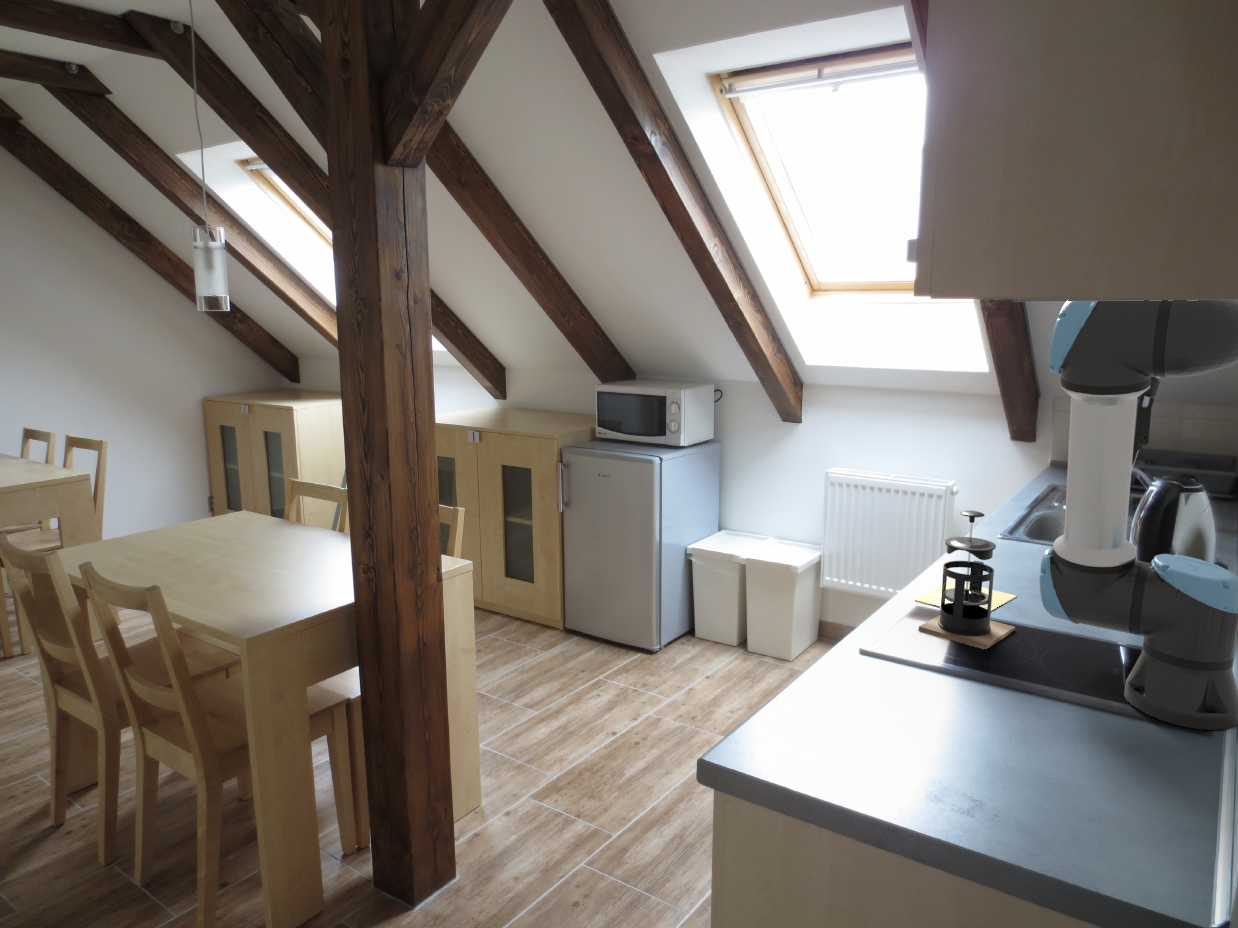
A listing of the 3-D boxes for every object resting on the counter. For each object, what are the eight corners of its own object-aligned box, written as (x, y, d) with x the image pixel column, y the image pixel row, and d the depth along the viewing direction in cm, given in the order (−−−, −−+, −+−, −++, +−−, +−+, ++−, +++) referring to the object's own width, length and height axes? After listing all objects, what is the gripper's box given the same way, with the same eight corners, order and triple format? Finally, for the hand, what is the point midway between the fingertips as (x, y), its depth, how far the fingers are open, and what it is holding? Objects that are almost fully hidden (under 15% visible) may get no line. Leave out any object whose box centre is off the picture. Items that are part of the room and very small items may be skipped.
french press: (980, 641, 153) (989, 521, 149) (929, 629, 159) (937, 513, 155) (999, 622, 162) (1009, 509, 158) (951, 611, 168) (958, 502, 164)
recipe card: (979, 618, 167) (979, 617, 166) (914, 600, 177) (915, 599, 177) (1017, 596, 178) (1017, 595, 178) (954, 581, 189) (954, 580, 189)
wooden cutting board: (985, 649, 152) (985, 645, 151) (918, 630, 161) (918, 626, 161) (1014, 630, 160) (1015, 626, 160) (950, 612, 170) (950, 609, 169)
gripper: (1194, 373, 145) (1155, 488, 146) (1128, 386, 169) (1095, 485, 170) (1150, 361, 146) (1111, 476, 147) (1091, 376, 170) (1058, 474, 171)
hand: (1103, 481), depth 158 cm, fingers open, 13 cm apart
